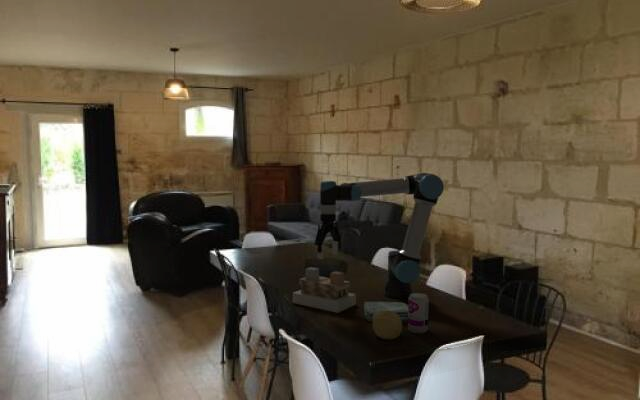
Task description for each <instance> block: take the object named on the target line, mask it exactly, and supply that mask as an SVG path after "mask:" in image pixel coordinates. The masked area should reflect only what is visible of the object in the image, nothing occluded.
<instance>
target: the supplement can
mask: <svg viewBox="0 0 640 400" xmlns="http://www.w3.org/2000/svg"><path fill="white" fill-rule="evenodd" d="M429 299H430V298H429V297H428V294H426V293H423V292H413V293H412V294H410V296H409V298H408V304H407V305H408V321H407V329H408V330H409V332H411V333H414V334H425V333H426V332H428V330H429V328H428V327H429V306H430V305H429V304H430V303H429V302H430V301H429Z"/></svg>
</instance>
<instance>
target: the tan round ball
mask: <svg viewBox="0 0 640 400" xmlns="http://www.w3.org/2000/svg"><path fill="white" fill-rule="evenodd" d="M372 328H373V330H374V333H375V335H376V336H377V337H378V338H380V339H381V340H394V339H396V338H398V337H399V336H400V335H401V333H402V331H403V322H402V321H401V317H399V315H398V314H396V313H395V312H392V311H388V310H387V311H383V310H381V311H380V312H378V313H376V314H374V315H373V321H372Z"/></svg>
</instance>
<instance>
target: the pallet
mask: <svg viewBox="0 0 640 400" xmlns="http://www.w3.org/2000/svg"><path fill="white" fill-rule="evenodd" d="M298 281H299V285H300V290H301V293H305V294H310V295H315V296H320V297H324V298H329V299H334V300H336V299H338V297H340V298H341V297H343V295H345V296H346V295H348V293H349V288H350V287H351V281H348V280H344V283H342V284H339V285H338V284H333V283H330V277H326V276H321V275H319V278H318V279H315V280H311V279H305V277H302V278H299V280H298Z"/></svg>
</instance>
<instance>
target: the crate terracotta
mask: <svg viewBox="0 0 640 400" xmlns="http://www.w3.org/2000/svg"><path fill="white" fill-rule="evenodd" d="M329 278H330V283H333V284H338V285H339V284H342V283H344V281H345V272H342V271H338V270H337V271H335V270H334V271H332V272H330V275H329Z"/></svg>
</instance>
